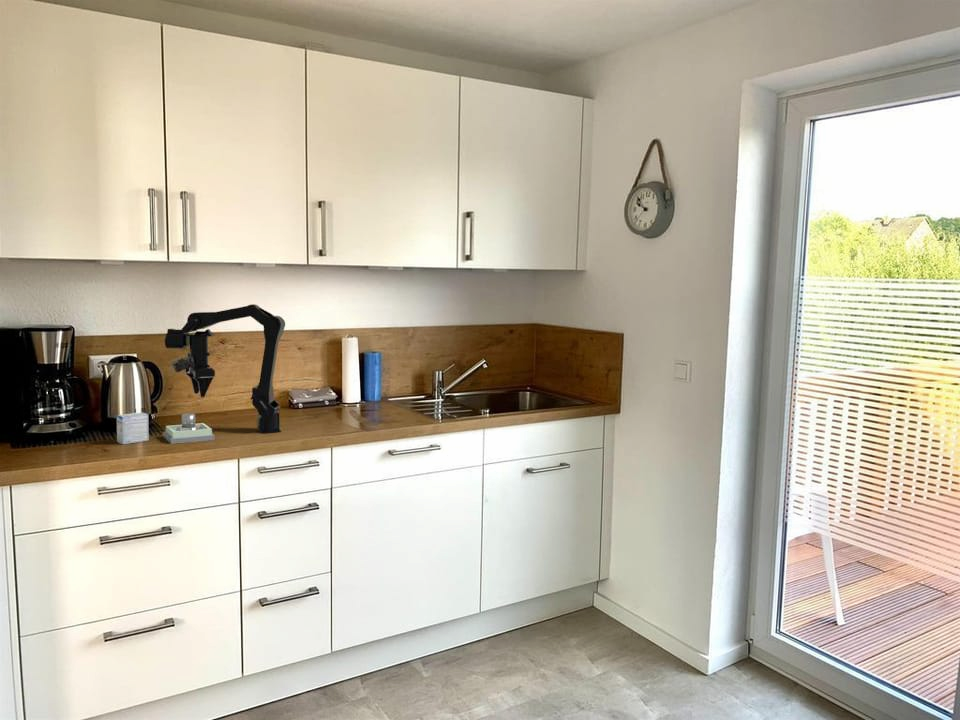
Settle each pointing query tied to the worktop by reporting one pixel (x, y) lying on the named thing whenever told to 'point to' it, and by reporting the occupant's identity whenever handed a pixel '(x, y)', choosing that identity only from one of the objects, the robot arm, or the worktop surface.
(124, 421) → the medicine box
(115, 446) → the worktop surface
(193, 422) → the gear
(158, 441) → the worktop surface
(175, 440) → the square tray
